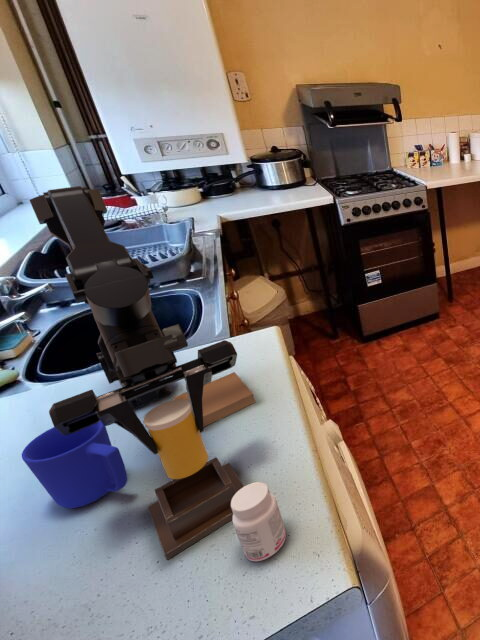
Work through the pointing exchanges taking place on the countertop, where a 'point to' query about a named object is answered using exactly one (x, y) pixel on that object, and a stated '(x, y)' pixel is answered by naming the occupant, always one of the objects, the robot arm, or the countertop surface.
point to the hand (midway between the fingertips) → (179, 442)
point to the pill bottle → (257, 521)
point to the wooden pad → (223, 398)
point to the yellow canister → (176, 438)
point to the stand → (194, 506)
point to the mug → (76, 465)
